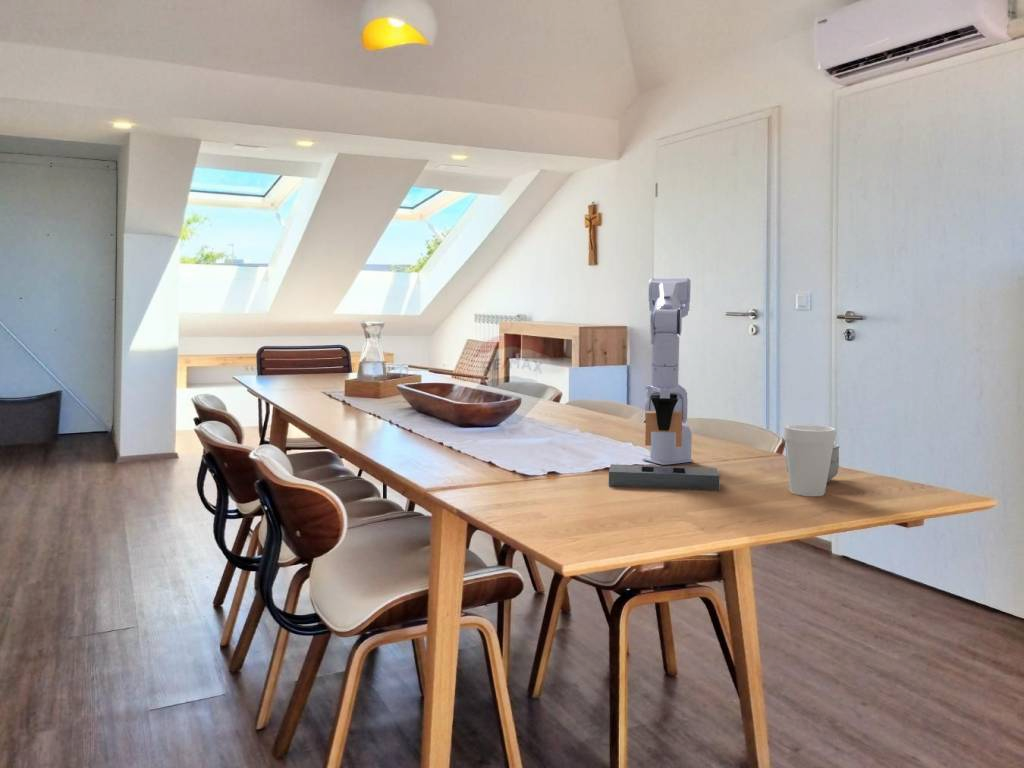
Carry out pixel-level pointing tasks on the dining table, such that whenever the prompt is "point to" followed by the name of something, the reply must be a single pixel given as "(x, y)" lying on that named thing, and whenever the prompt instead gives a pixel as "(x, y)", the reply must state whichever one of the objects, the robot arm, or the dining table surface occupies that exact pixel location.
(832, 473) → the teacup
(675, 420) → the tan orange block
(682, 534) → the dining table surface
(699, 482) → the slate rail
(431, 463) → the dining table surface
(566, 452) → the dining table surface
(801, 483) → the foam cup
